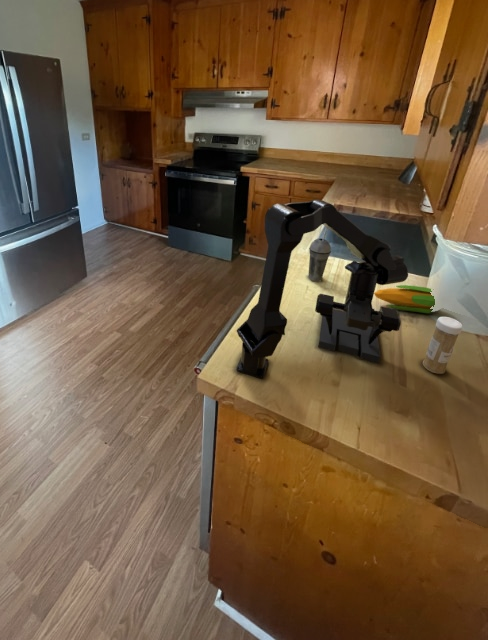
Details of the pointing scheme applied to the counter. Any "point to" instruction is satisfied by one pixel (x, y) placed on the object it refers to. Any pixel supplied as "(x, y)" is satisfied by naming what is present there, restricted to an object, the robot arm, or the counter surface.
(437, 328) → the tan spice jar
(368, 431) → the counter surface
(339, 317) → the dark u-shaped block
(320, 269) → the beverage cup
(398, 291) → the corn
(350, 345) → the small pad
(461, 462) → the counter surface
